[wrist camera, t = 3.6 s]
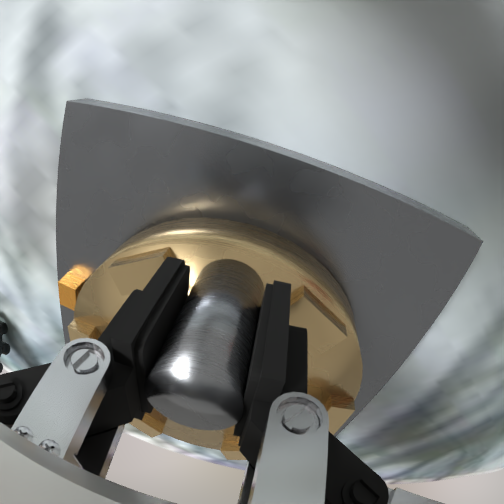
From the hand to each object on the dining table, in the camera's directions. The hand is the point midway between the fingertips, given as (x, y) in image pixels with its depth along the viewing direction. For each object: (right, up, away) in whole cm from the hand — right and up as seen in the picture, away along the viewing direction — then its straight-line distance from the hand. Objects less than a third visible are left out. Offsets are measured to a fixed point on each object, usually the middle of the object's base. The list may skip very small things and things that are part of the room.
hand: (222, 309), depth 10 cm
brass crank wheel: (-1, -3, +6) cm, 7 cm away
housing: (-1, -2, +8) cm, 8 cm away
